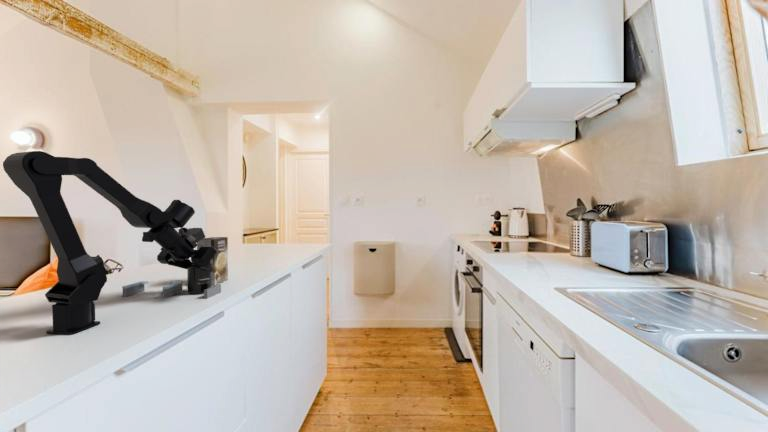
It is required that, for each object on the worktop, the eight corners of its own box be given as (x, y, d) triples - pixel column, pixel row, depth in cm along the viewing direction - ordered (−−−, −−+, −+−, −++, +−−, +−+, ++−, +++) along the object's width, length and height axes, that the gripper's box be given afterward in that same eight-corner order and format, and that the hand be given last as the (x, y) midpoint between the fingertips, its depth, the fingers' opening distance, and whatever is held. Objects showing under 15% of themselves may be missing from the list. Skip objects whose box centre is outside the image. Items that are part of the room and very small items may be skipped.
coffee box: (215, 285, 112) (214, 239, 112) (196, 285, 112) (195, 239, 112) (228, 279, 121) (228, 236, 121) (212, 279, 122) (211, 236, 121)
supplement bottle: (204, 294, 101) (203, 256, 100) (182, 294, 101) (181, 256, 101) (216, 289, 108) (215, 252, 107) (196, 289, 108) (195, 252, 107)
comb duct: (207, 298, 97) (207, 288, 97) (122, 296, 99) (122, 286, 99) (221, 292, 104) (220, 282, 104) (141, 290, 106) (141, 281, 106)
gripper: (211, 219, 97) (239, 251, 108) (165, 219, 103) (196, 249, 114) (188, 249, 90) (220, 280, 100) (140, 247, 96) (176, 276, 106)
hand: (203, 270), depth 105 cm, fingers closed on supplement bottle, 7 cm apart
